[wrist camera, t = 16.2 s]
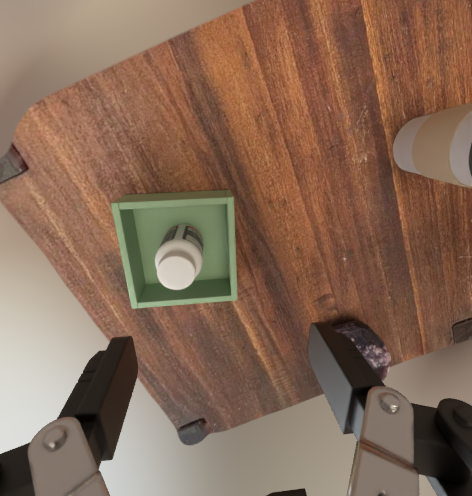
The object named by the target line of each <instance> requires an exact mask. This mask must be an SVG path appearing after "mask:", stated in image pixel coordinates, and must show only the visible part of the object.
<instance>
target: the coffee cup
mask: <svg viewBox="0 0 472 496" xmlns="http://www.w3.org/2000/svg"><path fill="white" fill-rule="evenodd" d="M393 157H394V160H395V162H396V164H397V165H398V166H399V167H400V168H401V169H402V170H405V171H408V172H412V173H416V174H421V175H423V176H425V177H427V178H431V179H435V180H439V181H443V182H447V183H451V184H455V185H460V186H464V187H468V188H472V103H468V104H464V105H460V106H456V107H452V108H448V109H444V110H441V111H438V112H436V113H433V114H429V115H425V116H421V117H417V118H414V119H412V120H410V121H408V122H407V123H406V124H405V125H404V126H403V127H402V128H401V129H400V131H399V132H398V134H397V136H396V138H395V141H394V144H393Z"/></svg>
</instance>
